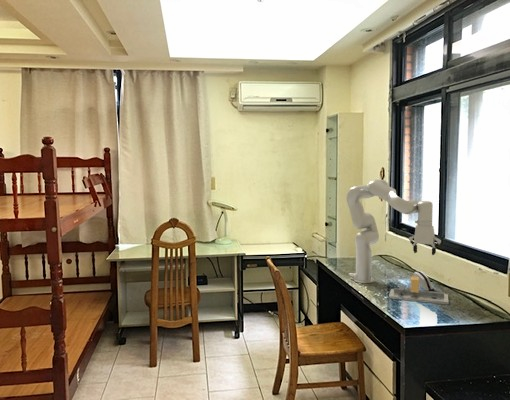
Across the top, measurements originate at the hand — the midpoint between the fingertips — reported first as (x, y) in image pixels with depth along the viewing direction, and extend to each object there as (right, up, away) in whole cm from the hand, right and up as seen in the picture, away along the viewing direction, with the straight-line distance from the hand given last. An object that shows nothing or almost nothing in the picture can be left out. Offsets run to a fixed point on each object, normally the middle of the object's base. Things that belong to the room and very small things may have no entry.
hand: (424, 253), depth 244 cm
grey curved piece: (+6, -22, +17) cm, 28 cm away
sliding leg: (-6, -22, -2) cm, 23 cm away
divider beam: (-4, -22, -3) cm, 23 cm away
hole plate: (-5, -24, -4) cm, 25 cm away
